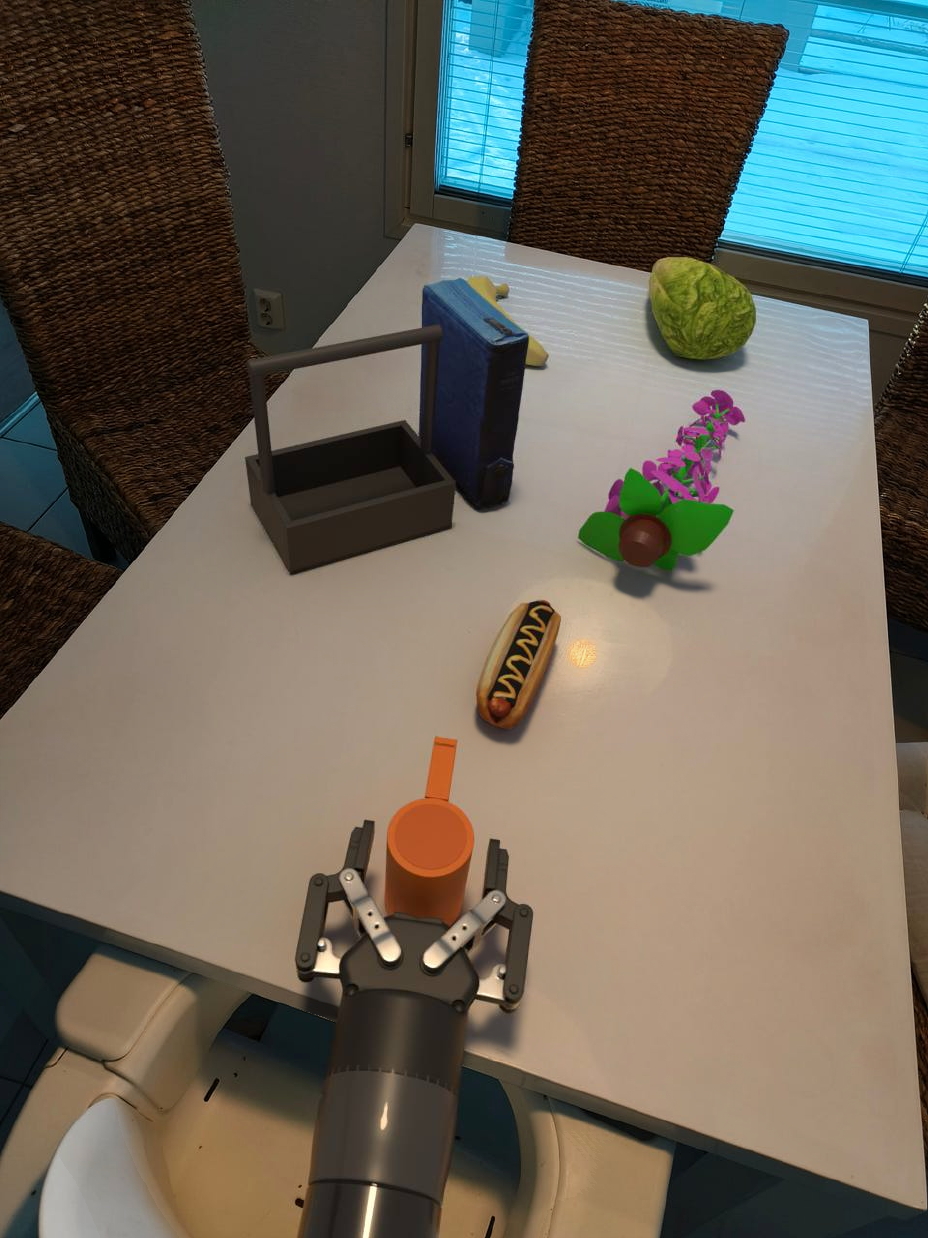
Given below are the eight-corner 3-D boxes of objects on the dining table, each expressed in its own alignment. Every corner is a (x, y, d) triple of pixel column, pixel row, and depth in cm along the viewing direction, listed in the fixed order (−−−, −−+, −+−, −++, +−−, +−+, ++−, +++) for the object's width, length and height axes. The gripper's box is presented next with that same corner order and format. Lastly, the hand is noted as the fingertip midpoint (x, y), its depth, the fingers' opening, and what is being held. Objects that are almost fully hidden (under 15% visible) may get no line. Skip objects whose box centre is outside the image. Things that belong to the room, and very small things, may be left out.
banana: (456, 301, 107) (475, 254, 122) (442, 341, 110) (462, 290, 126) (555, 344, 109) (562, 292, 124) (538, 382, 112) (546, 327, 127)
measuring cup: (457, 941, 59) (469, 882, 52) (378, 930, 59) (379, 869, 52) (473, 809, 66) (485, 743, 60) (402, 799, 66) (406, 731, 60)
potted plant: (575, 609, 87) (664, 457, 112) (737, 600, 78) (795, 436, 103) (538, 504, 82) (640, 368, 106) (709, 481, 72) (777, 338, 97)
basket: (288, 575, 82) (272, 398, 67) (248, 504, 88) (226, 328, 74) (453, 527, 89) (470, 356, 74) (404, 464, 95) (411, 296, 81)
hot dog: (460, 729, 71) (466, 692, 68) (509, 622, 80) (516, 585, 76) (517, 749, 70) (525, 712, 67) (560, 639, 79) (569, 602, 75)
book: (516, 504, 92) (544, 333, 77) (474, 518, 90) (495, 345, 75) (450, 433, 100) (464, 266, 85) (410, 444, 98) (418, 274, 83)
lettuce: (719, 256, 128) (666, 202, 121) (785, 329, 111) (728, 270, 104) (659, 318, 134) (606, 269, 127) (713, 396, 116) (654, 344, 110)
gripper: (528, 1100, 44) (543, 822, 55) (255, 1059, 44) (326, 790, 55) (509, 1134, 49) (527, 875, 60) (267, 1097, 50) (329, 846, 61)
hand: (431, 835), depth 58 cm, fingers open, 8 cm apart
